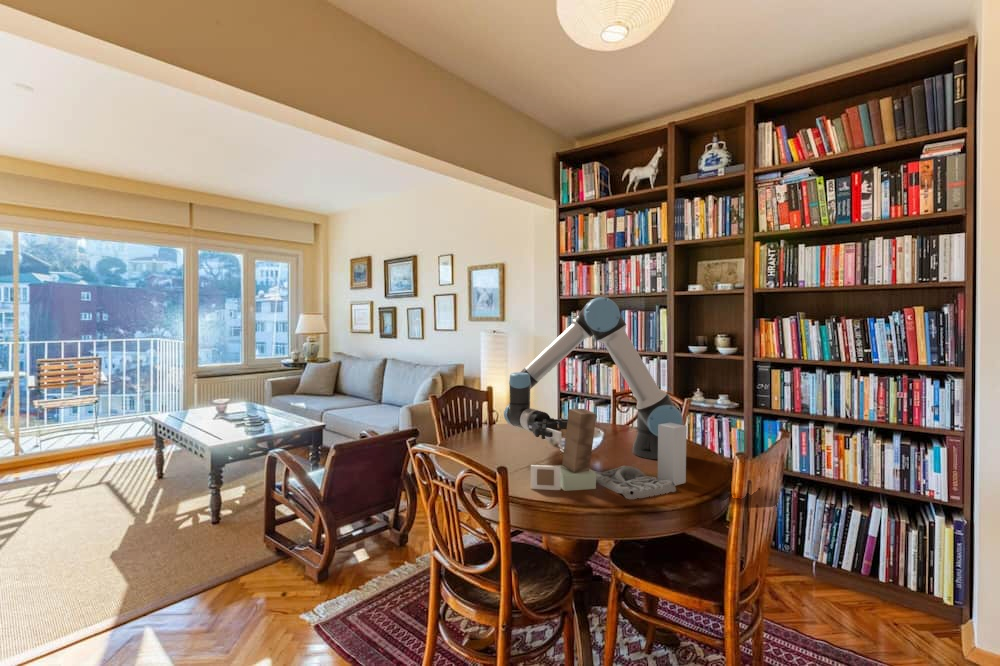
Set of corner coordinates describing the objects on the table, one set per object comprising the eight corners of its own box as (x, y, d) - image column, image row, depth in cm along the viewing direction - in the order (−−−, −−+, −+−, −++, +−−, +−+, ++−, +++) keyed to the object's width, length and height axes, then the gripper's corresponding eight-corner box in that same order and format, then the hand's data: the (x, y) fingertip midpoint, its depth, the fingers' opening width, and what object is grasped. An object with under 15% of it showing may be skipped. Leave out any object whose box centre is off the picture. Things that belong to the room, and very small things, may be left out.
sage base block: (584, 478, 157) (584, 463, 157) (595, 489, 147) (596, 473, 147) (554, 480, 155) (554, 465, 155) (564, 492, 146) (564, 475, 145)
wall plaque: (680, 492, 146) (680, 479, 146) (629, 502, 138) (629, 489, 138) (628, 469, 167) (628, 458, 167) (582, 477, 159) (582, 465, 159)
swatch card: (530, 487, 148) (530, 464, 148) (560, 488, 147) (560, 466, 147) (530, 489, 147) (530, 466, 146) (560, 490, 146) (560, 467, 145)
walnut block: (577, 463, 155) (583, 408, 154) (589, 470, 150) (596, 413, 149) (562, 465, 152) (568, 409, 151) (574, 472, 147) (581, 414, 146)
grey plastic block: (669, 477, 158) (670, 422, 157) (685, 482, 153) (686, 425, 152) (657, 480, 154) (658, 424, 154) (673, 486, 149) (674, 428, 149)
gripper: (563, 427, 174) (606, 440, 156) (505, 436, 161) (545, 452, 143) (563, 406, 174) (606, 417, 156) (505, 414, 161) (545, 426, 143)
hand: (577, 433), depth 150 cm, fingers open, 13 cm apart
